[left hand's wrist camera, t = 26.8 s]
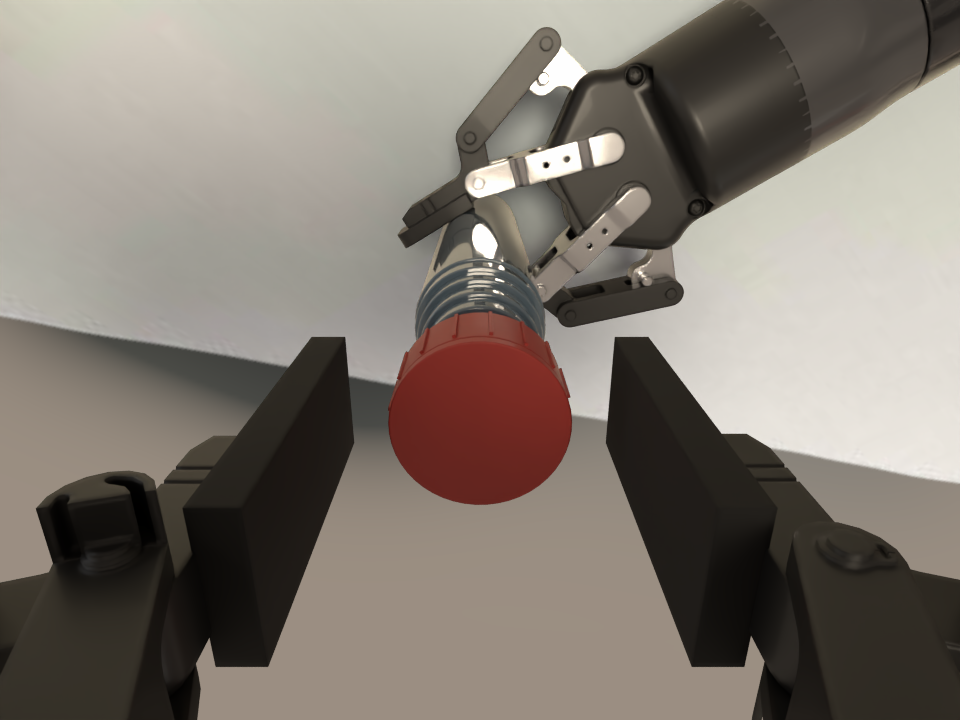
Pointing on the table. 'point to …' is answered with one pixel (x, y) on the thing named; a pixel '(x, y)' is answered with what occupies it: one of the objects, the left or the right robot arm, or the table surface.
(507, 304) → the bottle
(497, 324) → the cap
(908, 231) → the table surface
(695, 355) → the table surface
